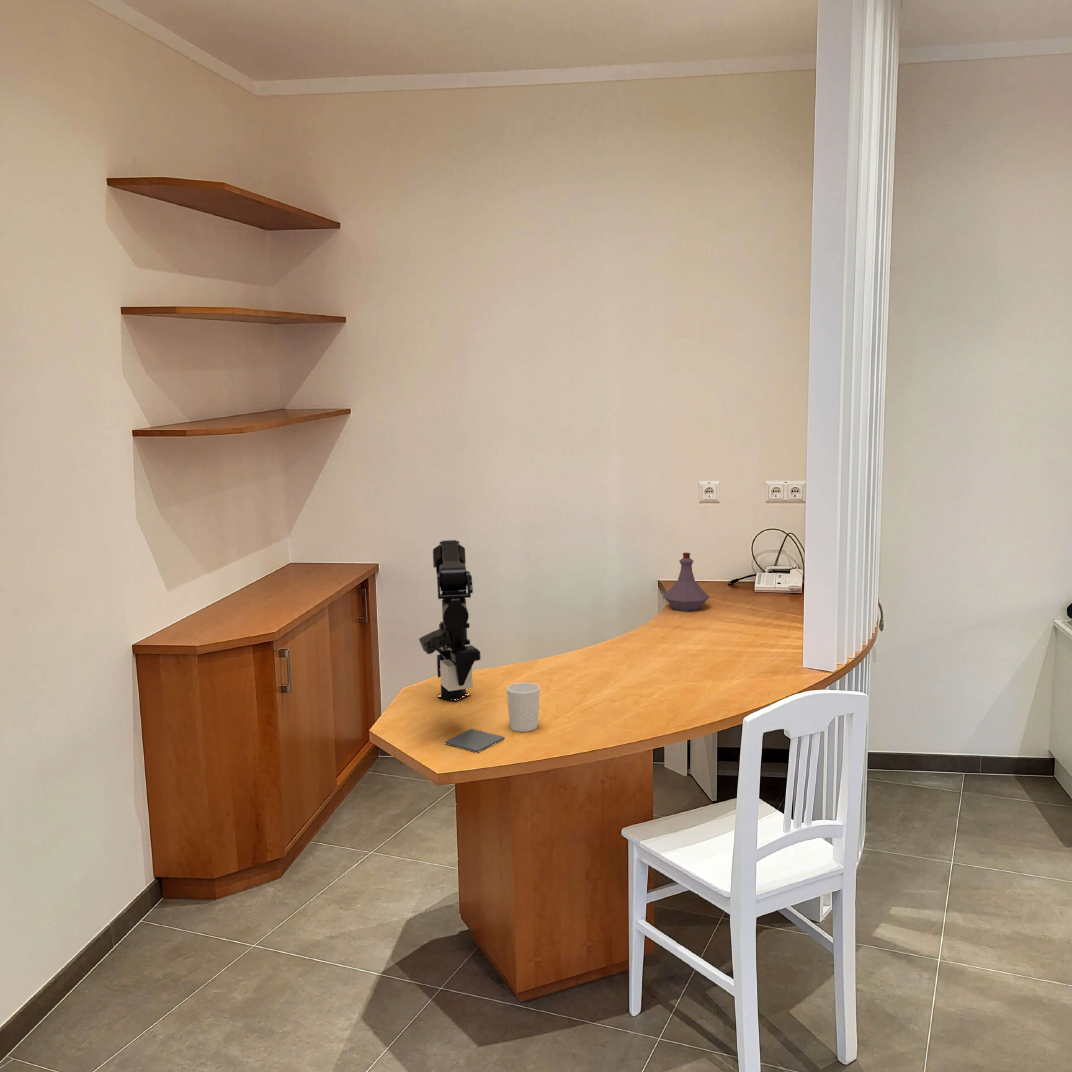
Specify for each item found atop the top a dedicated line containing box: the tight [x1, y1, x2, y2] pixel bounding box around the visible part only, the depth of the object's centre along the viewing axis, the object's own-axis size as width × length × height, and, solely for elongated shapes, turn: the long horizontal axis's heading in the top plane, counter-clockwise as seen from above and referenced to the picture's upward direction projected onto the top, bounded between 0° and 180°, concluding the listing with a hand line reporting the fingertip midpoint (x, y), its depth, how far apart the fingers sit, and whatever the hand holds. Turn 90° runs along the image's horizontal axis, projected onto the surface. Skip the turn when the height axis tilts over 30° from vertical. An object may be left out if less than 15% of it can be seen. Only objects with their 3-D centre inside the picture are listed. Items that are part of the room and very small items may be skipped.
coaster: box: [443, 728, 506, 754], centre depth 232 cm, size 10×10×1 cm
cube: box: [440, 660, 473, 691], centre depth 238 cm, size 6×6×6 cm
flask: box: [662, 552, 710, 612], centre depth 353 cm, size 16×16×20 cm
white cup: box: [506, 682, 540, 733], centre depth 240 cm, size 8×8×10 cm
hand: (456, 682), depth 239 cm, fingers closed on cube, 6 cm apart
